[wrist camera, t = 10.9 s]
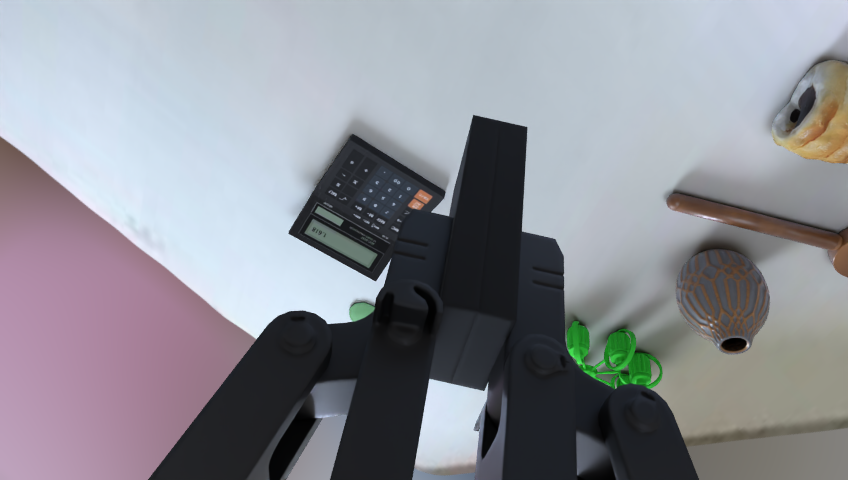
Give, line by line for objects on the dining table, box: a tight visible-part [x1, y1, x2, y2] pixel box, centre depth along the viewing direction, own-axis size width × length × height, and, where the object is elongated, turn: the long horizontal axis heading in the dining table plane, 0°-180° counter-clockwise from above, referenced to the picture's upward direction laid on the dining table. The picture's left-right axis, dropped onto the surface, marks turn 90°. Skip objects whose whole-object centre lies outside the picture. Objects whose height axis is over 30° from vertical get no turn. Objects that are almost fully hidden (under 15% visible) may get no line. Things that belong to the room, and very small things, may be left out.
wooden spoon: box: [667, 193, 848, 277], centre depth 47 cm, size 19×5×1 cm, turn 79°
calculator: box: [288, 134, 445, 281], centre depth 52 cm, size 9×12×3 cm
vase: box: [676, 249, 770, 354], centre depth 48 cm, size 7×7×9 cm
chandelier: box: [567, 321, 662, 389], centre depth 61 cm, size 15×15×7 cm
